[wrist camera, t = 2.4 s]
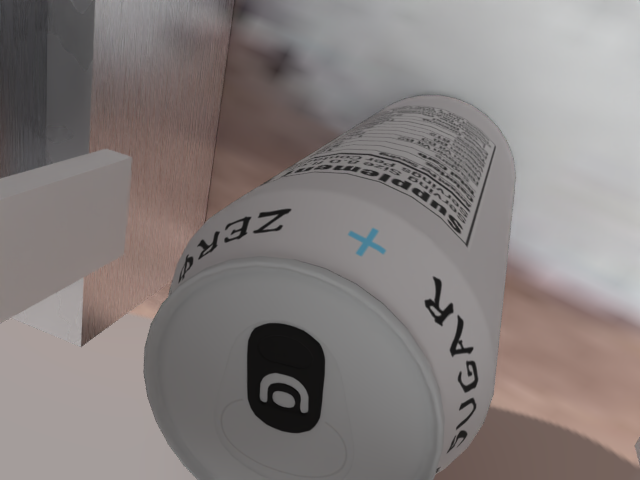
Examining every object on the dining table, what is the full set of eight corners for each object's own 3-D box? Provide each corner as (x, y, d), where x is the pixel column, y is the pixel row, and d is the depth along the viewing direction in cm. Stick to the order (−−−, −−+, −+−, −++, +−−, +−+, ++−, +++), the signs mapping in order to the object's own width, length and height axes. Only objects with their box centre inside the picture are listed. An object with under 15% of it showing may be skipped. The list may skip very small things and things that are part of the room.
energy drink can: (349, 233, 24) (123, 501, 11) (362, 83, 22) (96, 187, 9) (500, 261, 22) (453, 618, 9) (531, 101, 20) (529, 264, 7)
